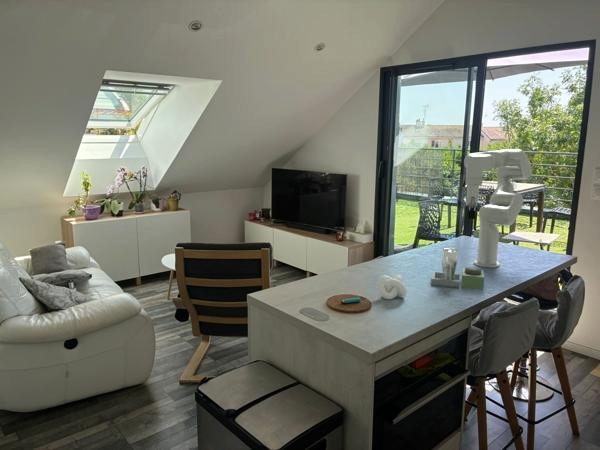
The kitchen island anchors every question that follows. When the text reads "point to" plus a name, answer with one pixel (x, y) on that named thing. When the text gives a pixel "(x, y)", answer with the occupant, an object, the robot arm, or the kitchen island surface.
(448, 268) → the beer glass
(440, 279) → the push button box
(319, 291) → the kitchen island surface
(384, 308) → the kitchen island surface
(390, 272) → the kitchen island surface
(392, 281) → the white knot sculpture
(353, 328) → the kitchen island surface
